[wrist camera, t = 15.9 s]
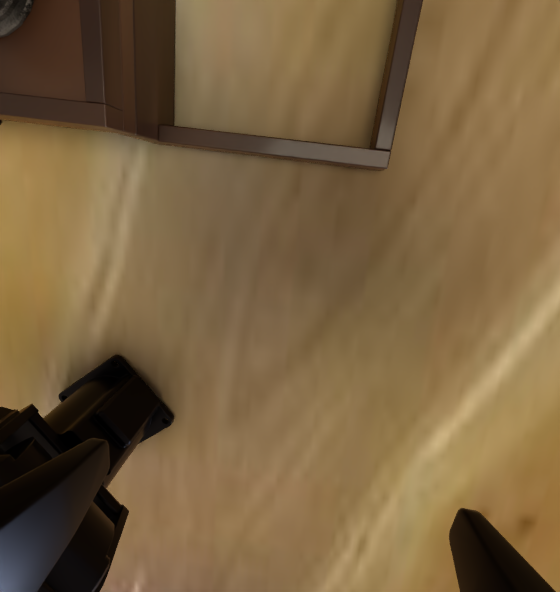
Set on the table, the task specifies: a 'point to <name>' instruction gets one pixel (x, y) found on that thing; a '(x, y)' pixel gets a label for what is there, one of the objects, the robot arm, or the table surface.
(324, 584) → the table surface
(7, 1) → the grey rounded piece
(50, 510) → the robot arm
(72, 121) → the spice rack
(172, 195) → the table surface
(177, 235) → the table surface
